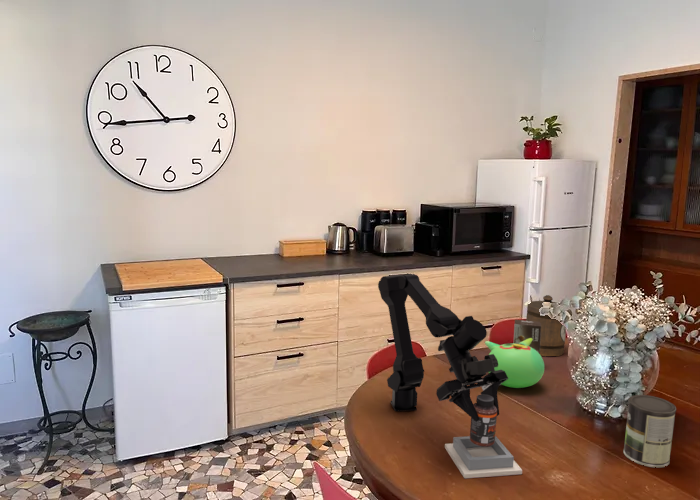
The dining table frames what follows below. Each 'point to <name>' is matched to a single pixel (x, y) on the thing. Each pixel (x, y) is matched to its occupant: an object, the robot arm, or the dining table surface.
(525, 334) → the coffee box
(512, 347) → the toy bird
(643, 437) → the coffee can
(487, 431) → the supplement bottle
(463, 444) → the cup holder
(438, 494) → the dining table surface
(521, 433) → the dining table surface
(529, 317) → the wooden container
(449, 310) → the robot arm
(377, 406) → the dining table surface
